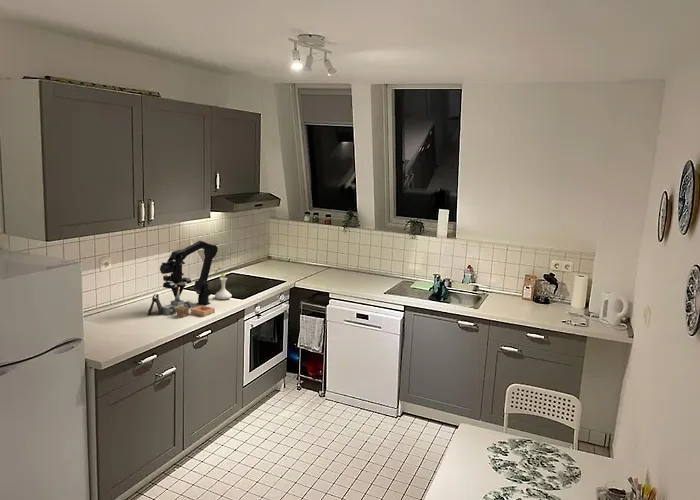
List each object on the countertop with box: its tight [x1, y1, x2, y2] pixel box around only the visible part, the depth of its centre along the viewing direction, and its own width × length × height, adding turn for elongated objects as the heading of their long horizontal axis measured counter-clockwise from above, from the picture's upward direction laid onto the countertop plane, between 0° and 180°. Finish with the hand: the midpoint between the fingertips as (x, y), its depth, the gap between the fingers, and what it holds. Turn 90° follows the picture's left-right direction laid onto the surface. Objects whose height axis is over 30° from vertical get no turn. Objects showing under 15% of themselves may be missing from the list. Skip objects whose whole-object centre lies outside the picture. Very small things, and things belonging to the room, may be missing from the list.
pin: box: [174, 287, 181, 301], centre depth 338 cm, size 4×4×8 cm
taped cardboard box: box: [176, 305, 190, 318], centre depth 328 cm, size 5×5×6 cm
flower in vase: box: [214, 262, 232, 300], centre depth 368 cm, size 13×11×25 cm
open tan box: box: [190, 305, 216, 318], centre depth 335 cm, size 10×10×3 cm
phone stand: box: [146, 293, 165, 316], centre depth 329 cm, size 9×6×12 cm, turn 102°
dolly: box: [162, 299, 193, 315], centre depth 338 cm, size 16×9×6 cm, turn 155°
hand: (177, 296), depth 339 cm, fingers closed on pin, 3 cm apart
